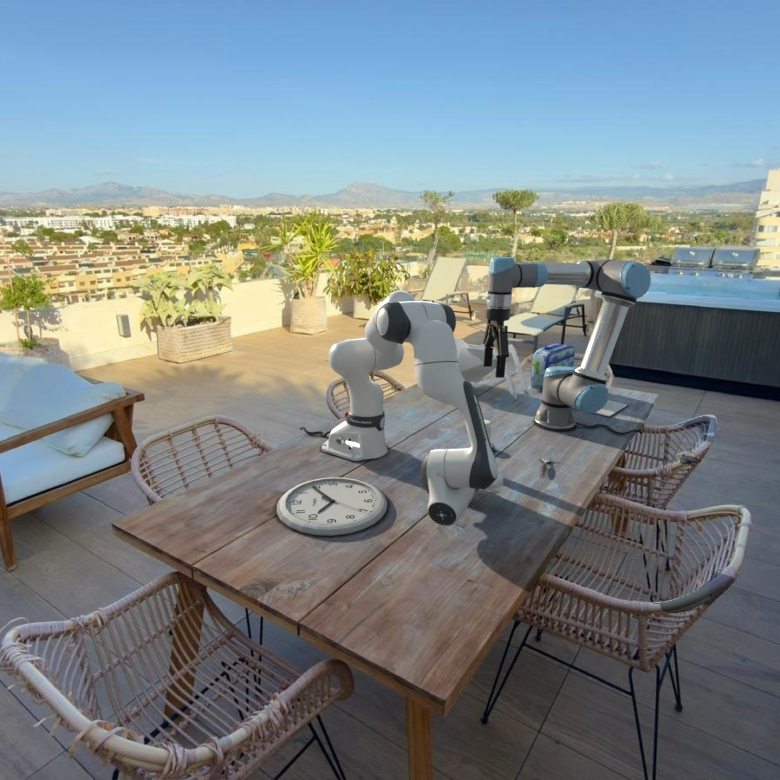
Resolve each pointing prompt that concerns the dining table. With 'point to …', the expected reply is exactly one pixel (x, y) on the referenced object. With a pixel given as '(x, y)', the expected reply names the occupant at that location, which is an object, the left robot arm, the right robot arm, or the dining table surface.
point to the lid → (492, 446)
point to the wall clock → (331, 506)
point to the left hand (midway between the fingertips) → (472, 465)
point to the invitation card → (611, 408)
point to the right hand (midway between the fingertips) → (493, 371)
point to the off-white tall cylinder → (488, 428)
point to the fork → (545, 461)
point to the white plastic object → (475, 371)
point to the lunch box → (550, 361)
